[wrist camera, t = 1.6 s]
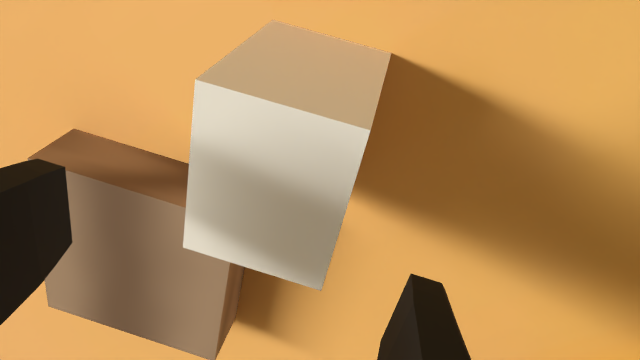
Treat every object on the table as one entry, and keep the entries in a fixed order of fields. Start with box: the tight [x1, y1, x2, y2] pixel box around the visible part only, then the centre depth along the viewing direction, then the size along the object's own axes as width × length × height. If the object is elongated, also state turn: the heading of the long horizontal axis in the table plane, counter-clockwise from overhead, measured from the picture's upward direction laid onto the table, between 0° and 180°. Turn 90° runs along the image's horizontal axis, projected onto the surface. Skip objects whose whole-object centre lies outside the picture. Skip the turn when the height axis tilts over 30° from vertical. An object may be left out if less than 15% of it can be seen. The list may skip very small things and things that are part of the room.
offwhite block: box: [183, 20, 391, 291], centre depth 14 cm, size 4×5×6 cm
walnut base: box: [28, 129, 245, 360], centre depth 20 cm, size 8×8×3 cm
